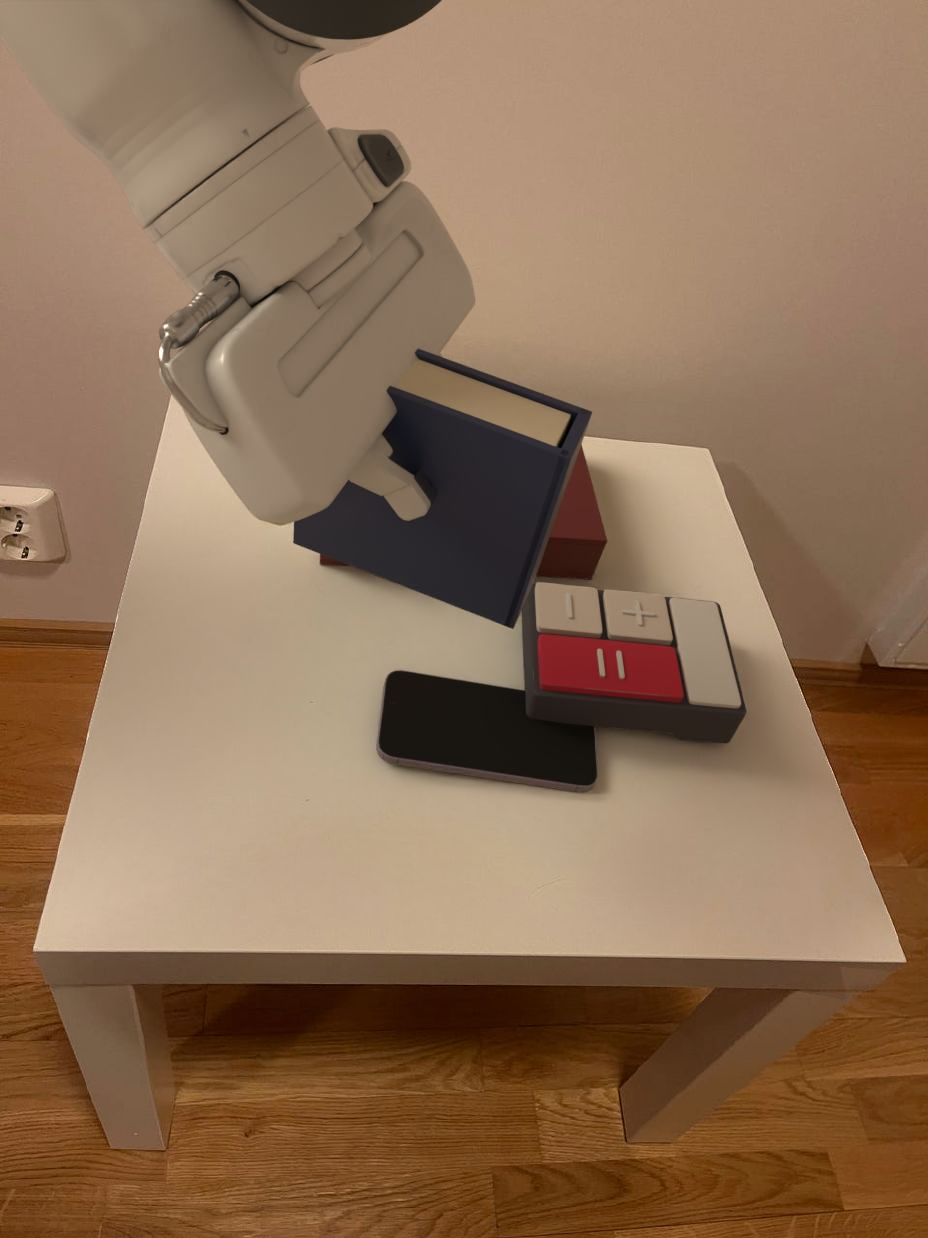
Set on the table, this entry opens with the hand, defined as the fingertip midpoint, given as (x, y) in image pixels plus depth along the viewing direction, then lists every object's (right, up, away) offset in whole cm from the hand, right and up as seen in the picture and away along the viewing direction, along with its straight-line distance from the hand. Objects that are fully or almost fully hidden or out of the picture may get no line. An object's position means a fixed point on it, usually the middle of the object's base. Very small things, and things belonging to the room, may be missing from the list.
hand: (441, 477), depth 46 cm
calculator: (+13, -11, +22) cm, 28 cm away
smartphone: (+3, -15, +16) cm, 22 cm away
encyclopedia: (0, +3, +31) cm, 31 cm away
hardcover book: (-2, -4, +5) cm, 7 cm away
